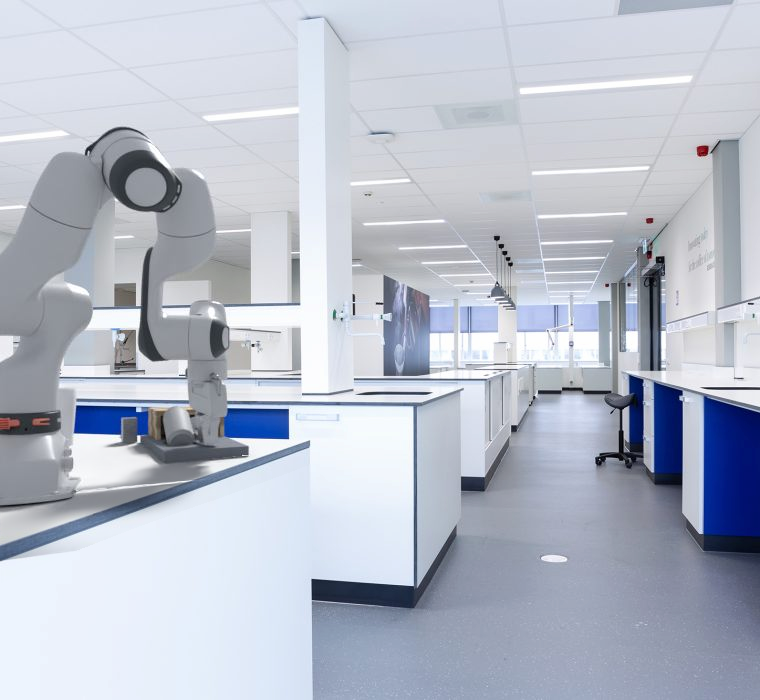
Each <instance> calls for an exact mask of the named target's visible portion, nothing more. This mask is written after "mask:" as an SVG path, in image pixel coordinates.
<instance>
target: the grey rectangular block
mask: <svg viewBox="0 0 760 700" xmlns="http://www.w3.org/2000/svg"><path fill="white" fill-rule="evenodd" d="M190 420H191V425H192V429H193V433H194V437H195V438H196V439H198V440H199V443H200V444H202V445H204V446H206V445H209V444H213V443H217V442H219V438H218V435H217V436H210V435H209V434H208V432H209V431H208V428H209V426H210V421H209V416H208V415H205V414H203V413H198V414H195V416H191V417H190ZM195 428H197V430H196V429H195Z"/></svg>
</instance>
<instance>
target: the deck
mask: <svg viewBox="0 0 760 700" xmlns="http://www.w3.org/2000/svg"><path fill="white" fill-rule="evenodd" d="M139 438H140V441H139V442H141V443H140V444H142V445H143V446H144V448H146V449H147V448H148V449H147V450H149V451H150V452H151V453H152V454H153V455H155V457H157V458H158V459H159V460H161V461H162V463H164V464H169V463H182V462H195V461H205V460H206V459H208V460H214V459H213V458H220V459H224V458H223V457H231V458H234V457H233V456H242V455H249V456H250V450H249V449H250V446H249V445H246V444H244V443H242V442H239V441H237V440H235V439H233V438H230V437H227V436H225V435H224V436H218V438H219V442H217V443H213V444H209V445H206V446H204V445H202V444H200V443H199V440H198V439H196V438H195V441H194V444H183V445H168V444H167V440H166V434H162V435H161V440H156V439H154V438H153V437H151V436H149V435H148V434H141V435H140V437H139ZM206 461H207V460H206Z"/></svg>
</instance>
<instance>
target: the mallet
mask: <svg viewBox="0 0 760 700" xmlns="http://www.w3.org/2000/svg"><path fill="white" fill-rule="evenodd" d="M120 421H121V423H120V424H121V425H120V431H121V433H120V435H119V437H120V436H121V437H120V440H121V443H122V444H123V443H124V444H133V443H134V444H136V443H135V442H137V443H138V417H136V416H133V417H132V416H131V417H127V416H126V417H121V418H120Z"/></svg>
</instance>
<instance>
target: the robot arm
mask: <svg viewBox="0 0 760 700" xmlns="http://www.w3.org/2000/svg"><path fill="white" fill-rule="evenodd" d="M114 197H115V199H116V200H117V201H118V203H120V204H121V205H123V206H125V207H126V208H128V209H130V210H133V211H137V212H141V213H142V212H143V213H150V212H152V213H155V218H156V219H155V220H156V227H157V228H156V229H157V237H156V242H155V244H154V245H152V246H151V247H148V248H147V250H146V253H145V255H144V258H143V264H142V272H141V274H142V275H141V285H140V286H141V289H140V291H141V292H140V317H139V327H138V331H137V346H138V350H139V352H140V353H141V354H142V355H143V356H144V357H145V358H147V359H148V361H151V362H154V363H155V362H164V361H165V362H167V361H187V366H186V369H184V375H185V378H186V379H187V394H188V395H187V397H188V404H189V406H190V408H192V409H194V410H196V414H198V413H203V414H205V415H208V416H209V421H210V426H209V428H208V431H209V432H208V434H209V435H210V436H217V435H218V427H219V423H220V417H224V418H225V417H227V414H228V394H227V393H228V392H227V385H226V383H225V382H223V381H226V380H228V355H227V350H229V349H230V326H228V325H227V324H228V321H227V316H226V315H227V314H226V309H225V306H224V304H223V303H221V302H220V301H214V300H204V299H203V300H196V301H193V302H192V303H191V304H190V307H189V313H188V314H187V315H179V314H178V315H176V314H175V315H173V314H172V315H171V314H167V313H165V312H164V311H163V300H164V298H163V297H164V296H163V295H164V285H165V282H167V281H169V280H170V279H173V278H175V277H177V276H181V275H182V274H183V275H184V274H186V273H189V272H192V271H195V270H196V269H199V268H200V267H202V266H203V265H204V264H206V263H207V262H208V261H209V260H210V259H211V258H212V256H213V255H214V253H215V250H216V247H217V225H216V215H215V209H214V205H213V200H212V196H211V193H210V188H209V186H208V182H207V181H206V178H205V177H204V175H202V174H201V173H200V172H198V170H195V169H192V168H188V167H175V168H173V167H171V165H169V163H168V162H167V160H166V159H165V158H164V156H163V154H162V153H161V151H160V149H159V148H158V147H157V146H156V145H155V143H153V142H152V141H151V140H150V138H148V136H146V134H145V133H143V132H141V131H140V130H138V129H135V128H133V127H130V126H129V127H128V126H117V127H116V126H115V127H113V128H111V129H109V130H107V131H105V132H104V133H103V134H102V135H101V136H99V138H98V139H96V141H94V142H92V143H91V144H89V145H88V146H87V147H86V148H85V150H84V154H83V153H79V152H76V151H75V152H74V151H62V152H58V153H57V154H55V155H54V156H52V158H51V159H50V160H49V162H48V164H47V165H46V166H45V168H44V170H43V172H42V173H41V175H40V176H39V178H38V180H37V182H36V184H35V186H34V189H33V190H32V193H31V196H30V198H29V201H28V203H27V205H26V208H25V209H24V210H25V211H24V213H23V216H22V218H21V221H20V222H19V224H18V228H17V229H16V232H15V234H14V235H13V237H12V239H11V241H10V242H9V243H8V245H7V246H6V247H5V249H3V251H2V252H0V336H6V337H11V336H12V337H19V343H18V346H17V348H16V349H15V351H14V353H12V355H11V356H9V357H7V358H5V359H3V360H1V361H0V506H8V505H9V506H11V505H22V504H32V503H33V504H34V503H42V502H43V503H45V502H51V501H59V500H64V499H69V498H71V497H72V496H73V495H74V494H75V492H77V487H78V485H79V484H80V482H81V481H82V480H81V477H79V476H70V473H71V472H72V470H74V469H73V468H74V457H73V456H72V448H70V446H69V440H68V439H66V437H64V436H63V435H62V434H61V432H60V429H61V421H62V417H61V411H60V410H58V396H59V388H60V373H61V369H62V364H63V361H64V358H65V356H66V354H67V351H68V349H69V347H70V345H71V344H72V342H73V341H75V339H76V338H77V336H79V335H80V334H81V333H82V332H84V331H85V330H86V329H87V328H88V326H89V325H90V323H91V321H92V318H93V314H94V305H93V301H92V298H91V296H90V294H89V293H88V291H87V290H86V289H85V288H84V287H82V286H79V285H77V284H73V283H70V282H69V281H68V282H67V281H64V280H62V279H54V278H55V277H57V276H58V275H60V274H62V273H65V272H67V271H70V270H71V269H72V268H74V267H76V266H77V265H78V263H79V262H80V261H81V258H82V256H83V254H84V250H85V249H86V246H87V244H88V241H89V239H90V236H91V234H92V231H93V229H94V226H95V225H96V222H97V219H98V216H99V214H100V213H99V212H100V211H101V210H102V208H103V207H104V205H105V204H106V203H107V202H108V201H109V200H111V199H112V198H114Z"/></svg>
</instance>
